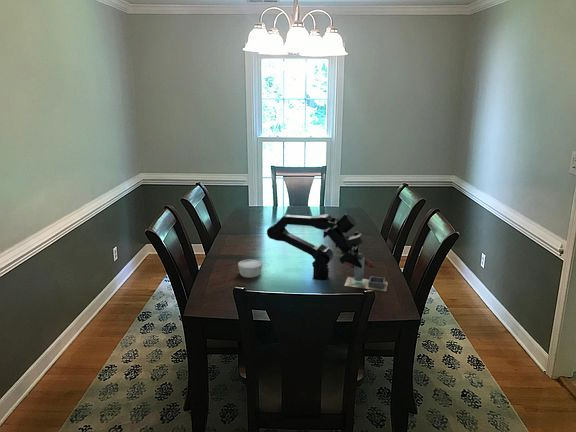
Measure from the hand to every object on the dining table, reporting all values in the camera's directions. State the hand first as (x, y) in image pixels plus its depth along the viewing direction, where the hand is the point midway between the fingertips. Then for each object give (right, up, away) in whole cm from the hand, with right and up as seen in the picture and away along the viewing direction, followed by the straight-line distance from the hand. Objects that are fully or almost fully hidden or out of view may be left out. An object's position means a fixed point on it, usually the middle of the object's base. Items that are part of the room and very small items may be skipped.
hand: (362, 265), depth 201 cm
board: (+2, -9, +2) cm, 9 cm away
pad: (-1, -8, +3) cm, 8 cm away
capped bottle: (-2, -6, +2) cm, 7 cm away
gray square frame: (+6, -9, +1) cm, 11 cm away
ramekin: (-50, -5, +11) cm, 52 cm away
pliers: (+2, -1, +30) cm, 31 cm away
